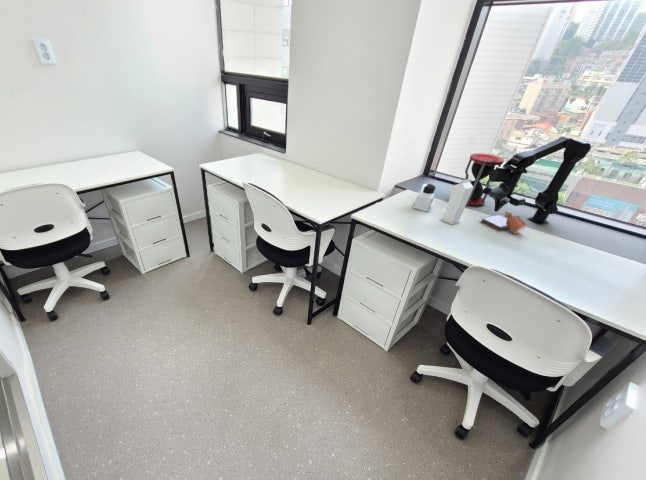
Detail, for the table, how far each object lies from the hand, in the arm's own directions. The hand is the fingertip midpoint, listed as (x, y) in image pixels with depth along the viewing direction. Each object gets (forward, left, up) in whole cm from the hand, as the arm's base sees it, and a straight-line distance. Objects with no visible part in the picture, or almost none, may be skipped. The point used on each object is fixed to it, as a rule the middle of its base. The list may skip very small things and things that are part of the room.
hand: (495, 211), depth 159 cm
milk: (+21, -8, -6) cm, 23 cm away
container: (+23, -26, -6) cm, 35 cm away
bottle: (0, +10, -5) cm, 12 cm away
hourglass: (-11, -24, -6) cm, 26 cm away
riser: (0, +4, -6) cm, 7 cm away
